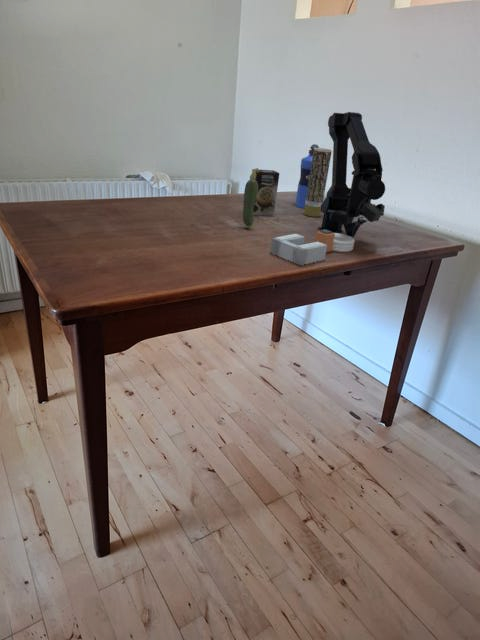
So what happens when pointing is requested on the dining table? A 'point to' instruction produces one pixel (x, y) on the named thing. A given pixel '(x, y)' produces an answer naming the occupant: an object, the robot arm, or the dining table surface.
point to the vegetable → (250, 199)
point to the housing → (298, 249)
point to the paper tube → (317, 181)
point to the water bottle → (304, 178)
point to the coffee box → (266, 192)
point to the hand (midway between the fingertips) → (349, 240)
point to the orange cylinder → (325, 238)
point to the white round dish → (342, 243)
